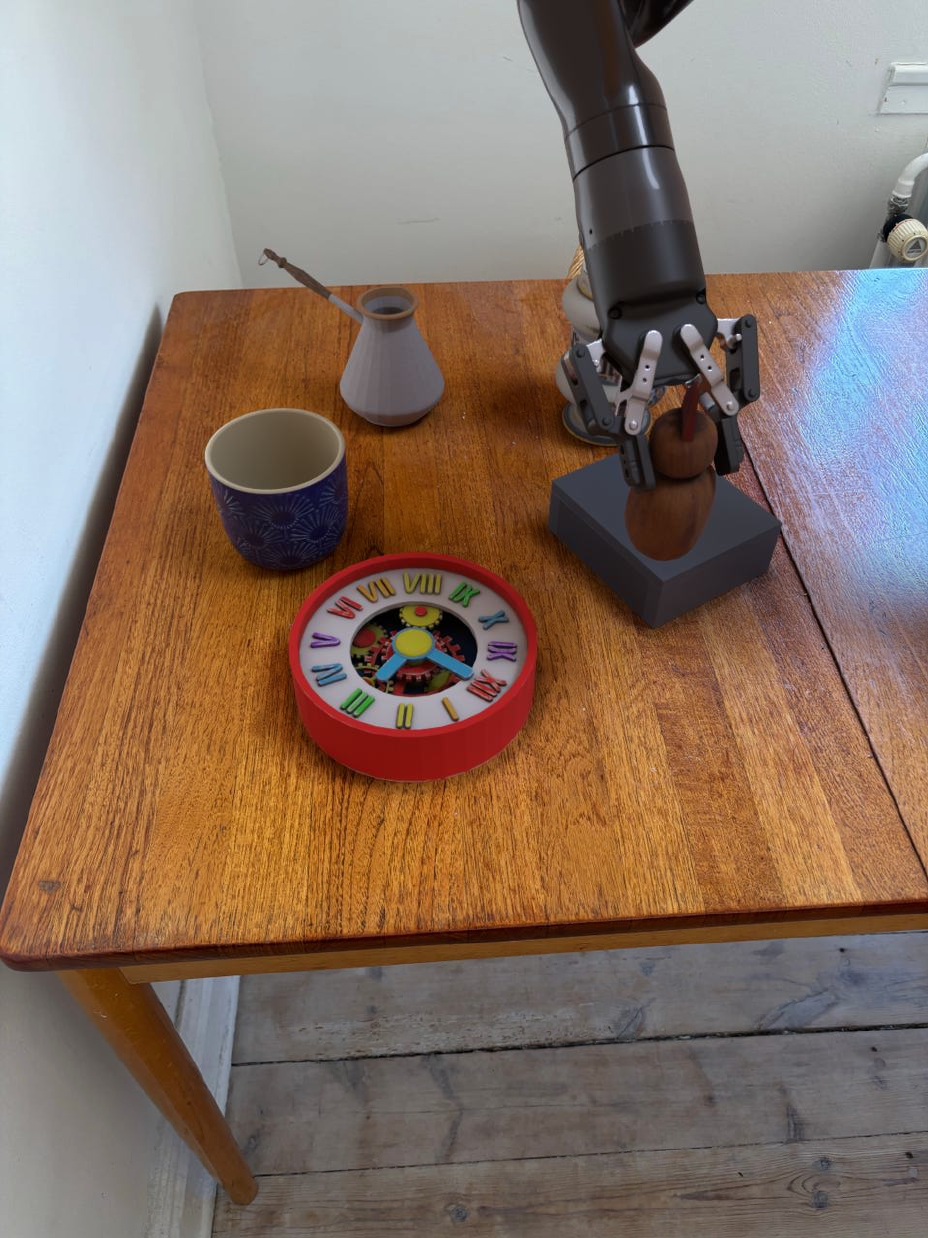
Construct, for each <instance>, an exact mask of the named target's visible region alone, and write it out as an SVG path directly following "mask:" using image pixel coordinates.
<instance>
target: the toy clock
mask: <svg viewBox="0 0 928 1238" xmlns="http://www.w3.org/2000/svg"><path fill="white" fill-rule="evenodd" d="M287 645H288V659H289V666H290V671H291V677H292V682H293V690H294V694H295V701H296V706H297V709H298V712H299V715H300V718H301V722H302V724H303V726H304V728H305V729H306V731H307V732H308V735H309V736H310V738H311V740H312V741H314V743H315V744H316V745H317V746H318V747H319V748H320V749H321V750H322V751H323V752H324V753H325V754H326V755H328V756H329V757H330V758H332V759H333V760H335V762H337V763H338V764H340V765H342V766H344V767H346V768H348V769H349V770H352V771H354V772H356V773H358V774H361V775H364V776H368V777H370V778H373V779H377V780H383V781H387V782H388V781H389V782H396V783H428V782H435V781H442V780H446V779H450V778H453V777H456V776H457V777H458V776H460V775H463V774H466V773H468V772H470V771H473V770H475V769H477V768H479V767H481V766H483V765H485V764H486V763H488V762H489V761H491V760H493V759H494V758H495V757H497V756H498V755H499V754H501V753H502V752H503V751H504V750H505V749H506V748H507V747H508V746H509V745H510V744H512V743H513V741H514V740H515V739H516V738H517V736H518V734H519V733H520V732H521V730H522V729H523V727H524V726H525V724H526V722H527V719H528V717H529V714H530V712H531V710H532V706H533V705H532V704H533V700H534V692H535V683H536V671H537V670H536V668H537V658H538V657H537V656H538V630H537V627H536V623H535V620H534V617H533V613H532V611H531V610H530V608H529V607H528V604H527V603H526V601H525V599H524V598H523V597H522V595H520V593H519V592H518V591H517V590H516V588H514V587H513V586H512V585H511V584H510V583H509V582H507V581H506V579H504V578H502V577H501V576H500V575H498V574H497V573H495V572H494V571H492V570H490V569H488V568H487V567H485V566H483V565H481V564H478V563H475V562H473V561H470V560H468V559H465V558H461V557H457V556H453V555H449V554H445V553H437V552H430V551H429V552H426V551H425V552H423V551H422V552H420V551H417V552H415V551H412V552H411V551H407V552H398V553H397V552H396V553H389V554H384V555H381V556H375V557H372V558H368V559H365V560H363V561H360V562H357V563H354V564H352V565H349V566H348V567H346V568H344V569H342V570H340V571H338V572H336V573H334V574H333V575H331V576H330V577H329V578H327V579H326V580H324V581H323V582H322V583H321V584H319V585H318V586H317V587H316V588H314V590H313V591H312V593H310V594H309V596H307V597H306V598H305V600H304V601H303V603H302V605H301V606H300V608H299V610H298V611H297V612H296V615H295V617H294V619H293V622H292V624H291V627H290V632H289V637H288V644H287Z"/></svg>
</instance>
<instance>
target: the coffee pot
mask: <svg viewBox="0 0 928 1238" xmlns="http://www.w3.org/2000/svg"><path fill="white" fill-rule="evenodd" d="M264 255H265V257H266V259H265V260H264V261H263V262H261V260H262V258H263V257H264ZM269 260H270V261H274V262H275V263H276V266H277V268H278V269H284V270H285V272H287V273H288V274H289V275H290V276H291V277H292V278H294V280H295V281H297V282H298V283H299V284H302V285H303V286H305V287H306V288H307V289H308V290H311V291H313V292H314V293H315V294H317V295H319V296H320V297H322V298H324V299H325V300H326V301H329V302H331V303H332V304H333V305H335V306H336V307H337V308H339V310H342V311H343V312H344V313H346V315H348V316H349V317H350V318H352V319H353V320H355V321H356V322H357V323H359V324H360V325H361V327H360V329H359V332H358V334H357V337H356V340H355V342H354V345H353V347H352V350H351V352H350V355H349V357H348V361H347V362H346V365H345V368H344V370H343V373H342V376H341V379H340V382H339V390H340V395H341V397H342V398H343V400H344V402H345V403H346V405H347V406H348V408H349V409H350V410H351V411H353V412H354V413H355V414H356V415H358V416H359V417H361V418H363V419H365V420H366V421H367V422H369V423H371V424H374V425H377V426H382V427H392V428H393V427H403V426H407V425H410V424H413V423H416V422H417V421H419V420H420V419H421V418H423V417H425V415H427V414H428V413H429V412H431V411H432V410H433V409H434V408H435V407H436V406H437V404H438V403H439V401H440V400H441V398H442V396H443V394H444V390H445V385H446V384H445V383H446V382H445V380H444V377H443V376H444V375H443V373H442V371H441V369H440V367H439V365H438V363H437V361H436V359H435V358H434V356H433V354H432V352H431V349H430V348H429V346H428V344H427V342H426V340H425V338H424V336H423V334H422V332H421V330H420V328H419V326H418V325H417V322H416V320H415V319H414V315H415V313H416V311H417V310H418V308H419V305H420V300H419V297H418V296H417V295H416V293H415V292H413V290H411V289H410V288H408V287H406V286H402V285H401V286H400V285H383V286H377V287H372V288H370V289H367V290H365V291H364V292H362V293H361V294H360V295H359V296H358V297H357V299H356V303H355V304H356V308H357V309H356V308H354V307H353V306H352V305H349V303H346V302H345V301H344V300H342V299H341V298H339V297H338V296H336V295H335V294H333V291H330V289H328V288H327V287H326V286H325V285H322V284H321V283H320V282H319V281H318V280H316V279H315V278H314V277H313V276H311V275H310V274H309V273H308V272H306V270H304V269H301V268H300V267H297V266H296V265H294V264H292V263H290V262H288V260H287V257H285V256H282V257H281V256H279V255H277V253H276V252H275V251H273V250H272V249H271V248H264V249H263V251H262V253H261V254H260V256H259V258H258V260H257V265H259V266H264V265H265V264H266V263H267V262H268V261H269Z"/></svg>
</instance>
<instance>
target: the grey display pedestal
mask: <svg viewBox="0 0 928 1238" xmlns="http://www.w3.org/2000/svg"><path fill="white" fill-rule="evenodd" d="M647 443H648V439H647ZM715 474H716V490H715V498H714V503H713V507H712V511H711V513H710V516H709V518H708V521H707V523H706V526H705V528H704V530H703V532H702V534H701V536H700V538H699V539H698V541H697V542H696V544H695V545H694V547H693V548H692V549H691V550H690V551H689V552H688V553H687V554H686V555H684V556H682V557H681V558H678V559H674V560H669V561H656V560H653V559H651V558H649V557H647V556H645V555H643V554H642V553H640V552H639V551H637V550H636V549H635V547H634V545H633V544H632V542H631V540H630V538H629V536H628V533H627V529H626V526H625V517H624V513H625V507H626V502H627V498H628V495H629V491H630V487H631V486H629V487H628V485H627V483H626V482H625V480H624V476H623V471H622V465H621V461H620V456H619V452H616V453H614V454H611V455H609V456H607V457H606V456H605V457H604V458H601V459H599V460H597V461H594V462H592V463H590V464H587V465H584V466H582V467H580V468H577V469H575V470H573V471H571V472H568V473H566V474H563V475H561V476H559V477H556V478H554V479H552V480H551V485H550V487H551V489H550V498H549V511H548V521H547V529H548V530H549V531H550V532H551V533H552V534H553V535H554V536H555V537H556V538H557V539H558V540H560V542H561V543H563V545H565V547H567V548H568V549H569V550H570V551H571V552H572V553H573V554H574V555H575V556H576V558H578V559H579V560H580V561H581V562H582V563H584V564H585V566H587V568H589V569H590V570H591V571H592V572H593V573H594V574H595V575H596V576H597V577H598V578H599V579H600V580H601V581H602V582H603V583H604V584H605V585H607V587H608V588H609V589H610V590H612V591H613V592H614V593H615V594H616V596H618V597H619V598H620V599H621V600H622V601H623V602H624V603H625V604H626V605H627V606H628V607H629V608H630V609H631V610H633V611H634V613H635V614H637V615H638V616H639V618H641V619H642V620H643V621H644V622H645V624H647V625H648V626H649V627H650V628H651V629H652V630H655V629H657V628H659V627H660V626H663V625H665V624H666V623H668V622H670V621H673V620H674V619H677V618H678V617H680V616H682V615H684V614H686V613H688V612H691V611H692V610H694V609H696V608H698V607H700V606H702V605H704V604H706V603H708V602H709V601H711V600H714V599H716V598H717V597H720V596H722V595H724V594H725V593H727V592H729V591H731V590H733V589H735V588H737V587H739V586H741V585H743V584H745V583H747V582H749V581H751V580H753V579H755V578H757V577H758V576H760V575H763V574H765V573H766V572H768V571H769V569H770V565H771V562H772V559H773V556H774V553H775V549H776V546H777V543H778V539H779V537H780V533H781V530H782V526H783V521H781V520H780V519H778V518H777V517H776V516H775V515H773V514H772V513H771V512H769V511H768V510H767V509H765V508H764V507H763V506H762V505H760V504H759V503H758V502H756V500H754V499H753V498H751V497H750V495H749V496H748V494H746V493H745V492H744V491H742V490H741V489H740V488H738V487H737V486H736V485H735V484H734V483H732V482H731V481H730V480H728V479H727V478H726V477H725V476H718V475H717V473H716V470H715Z"/></svg>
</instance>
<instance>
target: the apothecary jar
mask: <svg viewBox="0 0 928 1238" xmlns="http://www.w3.org/2000/svg"><path fill="white" fill-rule="evenodd" d="M561 309H562V312H563V314H564V316H565V318H566V319H567V321H568V322H569V323H570V324H571V330H570V339H569V340H570V342H569V348H568V349H567V350H566V351H565V352H564V353H566V352H567V351H568V350H569V349H571V348H572V347H573V346H575V345H576V344H579V343H582V344H584V345H586V344H589V343H592V342H594V341H597V338H598V334H599V321H598V318H597V316H596V312H595V307H594V302H593V297H592V292H591V288H590V283H589V278H588V273H587V269H586V264H585V259H584V260H583V261H582V263H581V266H580V271H579V274H577V275H575V277H573V278H572V279H571V280H570V282H568V284H567V285H566V287H565V288H564V290H563V293H562V295H561ZM560 359H561V357H560V358H559V360H558V361H557V364H556V367H555V373H554V374H555V382H556V384H557V388H558V390H559V391H560V393H561V394H562V396H563V397H564V398H565V399H566V400H567V401H568V402H567V404H566V405H565V406H564V408H563V410H562V414H561V416H562V418H561V419H562V423H563V425H564V427H565V429H566V430H567V432H569V434H571V435H572V436H573V437H575V438H576V439H578V440H580V441H582V442H585V443H587V444H591V445H594V446H600V447H617V444H616V442H615V441H614V440H613V439H612V438H610V437H605V436H599V435H597V436H591V435H589V434H588V433H587V431H586V429H585V426H584V423H583V421H582V418H581V416H580V413H579V410H578V408H577V405H576V402H575V400H574V397H573V394H572V392H571V389H570V387H569V384H568V381H567V379H566V376H565V373H564V371H563V368H562V366H561V362H560ZM598 375H599V378H600V381H601V383H602V386H603V389H604V391H605V394H606V397H607V399H608V402H609V405H610V407H611V410H612V413H613V415H615V411H616V405H615V398H616V393H617V388H618V383H619V378H620V374H619V373H618V372H617V371H616V370H615V369H614V368H613V367H612V366H611V365H610V364H609V363H608V362H607V361H606V360H605V359H604V358H603V357H602V356H601V370H600V372H599V373H598ZM668 389H669V386H664V385H661V386H659V387H657V388H655V389H653V390H652V391H651V396H650V399H649V401H648V402H647V404H646V408H645V413H644V418H643V424H642V429H641V431H640V434H641V435H645V434H646V435H647V434H648V433H650V431H651V429H652V427H653V416H652V413H651V411H650V409H651V408H652V407H654V406H655V405H657V404H658V403H659V402H660V401H661V400H662V398H664V396H665V395H666V393H667V391H668Z"/></svg>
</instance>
